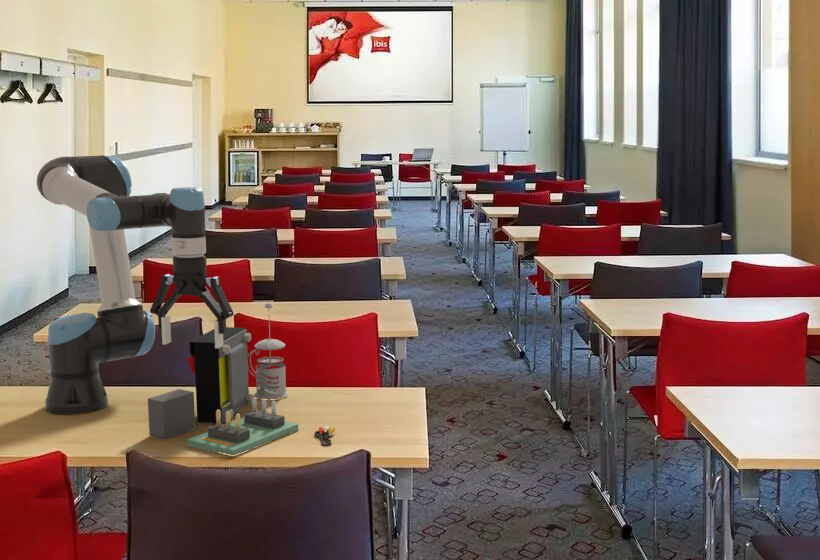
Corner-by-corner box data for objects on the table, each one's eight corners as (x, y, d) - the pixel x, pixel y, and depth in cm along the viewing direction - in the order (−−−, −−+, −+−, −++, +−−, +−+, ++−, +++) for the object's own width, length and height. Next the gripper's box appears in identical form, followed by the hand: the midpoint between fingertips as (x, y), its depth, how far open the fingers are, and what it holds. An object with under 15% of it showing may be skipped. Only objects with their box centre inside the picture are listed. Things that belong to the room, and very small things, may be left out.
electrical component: (229, 424, 229) (226, 343, 226) (189, 422, 231) (186, 341, 228) (255, 403, 246) (252, 328, 243) (218, 401, 248) (215, 326, 245)
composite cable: (332, 447, 213) (331, 437, 213) (310, 447, 213) (310, 437, 213) (335, 433, 223) (335, 423, 223) (315, 433, 223) (315, 423, 223)
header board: (187, 445, 214) (185, 413, 213) (253, 420, 232) (252, 390, 231) (233, 457, 206) (232, 423, 205) (298, 429, 225) (297, 399, 223)
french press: (278, 402, 248) (276, 307, 244) (239, 397, 252) (236, 305, 248) (296, 392, 257) (294, 301, 253) (258, 388, 261) (255, 298, 257)
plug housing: (164, 439, 218) (162, 401, 217) (149, 436, 221) (147, 398, 219) (195, 428, 226) (193, 392, 225) (180, 425, 229) (178, 389, 227)
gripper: (132, 255, 218) (136, 345, 222) (231, 259, 212) (234, 352, 215) (149, 250, 226) (153, 338, 229) (246, 255, 219) (248, 345, 222)
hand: (192, 345), depth 222 cm, fingers open, 13 cm apart
